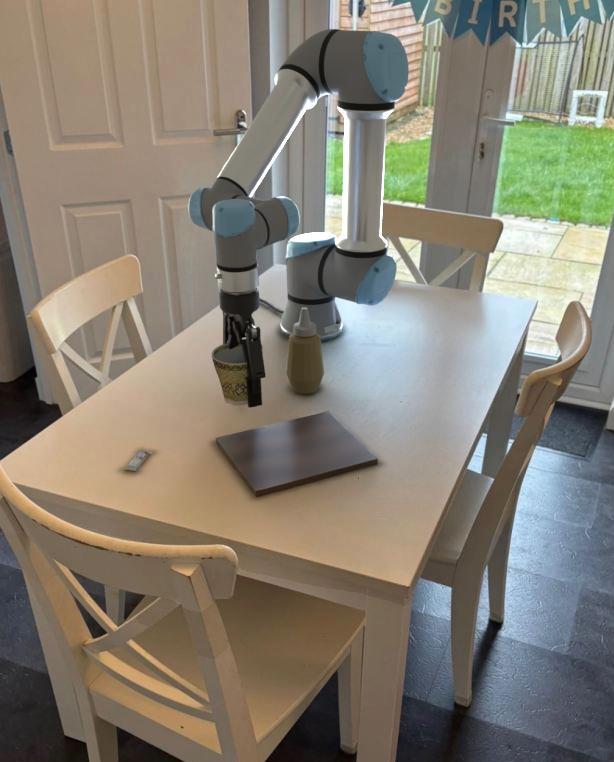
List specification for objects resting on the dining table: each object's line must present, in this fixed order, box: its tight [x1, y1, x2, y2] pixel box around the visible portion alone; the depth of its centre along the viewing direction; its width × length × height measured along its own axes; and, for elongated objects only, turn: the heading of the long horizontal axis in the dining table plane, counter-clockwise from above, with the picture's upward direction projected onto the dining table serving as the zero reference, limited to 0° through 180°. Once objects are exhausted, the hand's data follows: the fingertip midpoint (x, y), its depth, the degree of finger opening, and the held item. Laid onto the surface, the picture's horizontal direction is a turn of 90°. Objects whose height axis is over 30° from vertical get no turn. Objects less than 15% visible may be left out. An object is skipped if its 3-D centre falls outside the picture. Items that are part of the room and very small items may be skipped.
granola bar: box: [124, 450, 153, 472], centre depth 143 cm, size 7×2×1 cm, turn 164°
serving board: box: [215, 410, 379, 498], centre depth 146 cm, size 20×24×1 cm
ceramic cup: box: [211, 342, 264, 407], centre depth 156 cm, size 13×10×10 cm
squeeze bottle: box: [285, 307, 325, 395], centre depth 163 cm, size 8×8×18 cm
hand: (245, 395), depth 158 cm, fingers closed on ceramic cup, 9 cm apart
